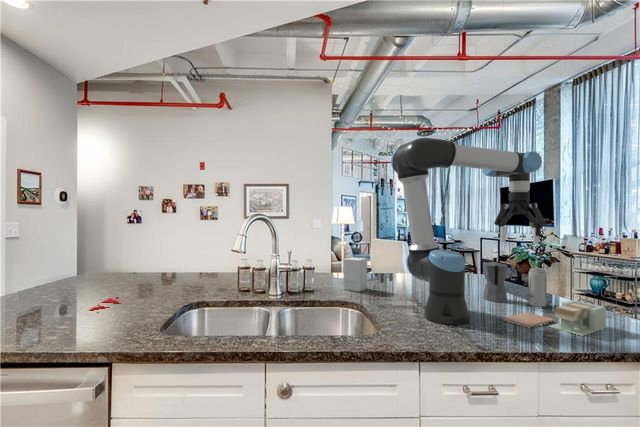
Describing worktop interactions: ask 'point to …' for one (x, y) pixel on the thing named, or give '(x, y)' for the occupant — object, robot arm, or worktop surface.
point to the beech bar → (572, 311)
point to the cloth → (106, 302)
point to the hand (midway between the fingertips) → (518, 242)
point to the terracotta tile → (528, 319)
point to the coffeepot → (495, 281)
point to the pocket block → (584, 321)
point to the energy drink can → (537, 287)
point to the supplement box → (355, 274)
